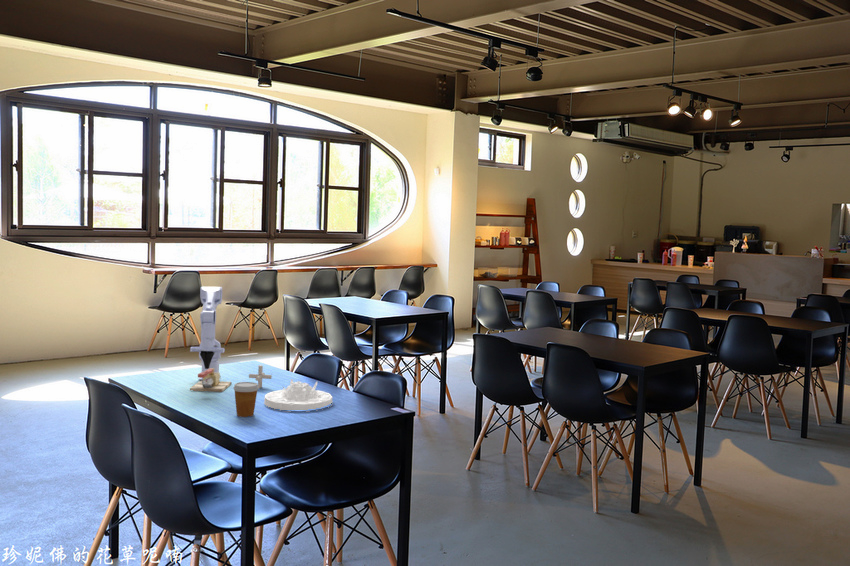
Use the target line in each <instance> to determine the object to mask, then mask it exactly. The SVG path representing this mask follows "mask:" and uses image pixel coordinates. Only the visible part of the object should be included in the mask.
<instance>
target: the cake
mask: <svg viewBox="0 0 850 566" xmlns="http://www.w3.org/2000/svg"><path fill="white" fill-rule="evenodd" d="M289 383H290V385H287V387H286V388H285V386H282V387H283V389H279V390H274V391H270V392H267V393H266V394H265V395H264V400H263V401H264V406H265V405H266V406H265V407H267V406H268V407H267V408H269V407H271V408H274V409H273V410H275V409H280V410H279V411H281V410H308V409H316V408H321V407H324V406H327V405H329V404H331V403H332V404H333V396H332V395H331V393H329V392H326V391H324V390H319V389H317V386H318V381H316V382H315V383H314V384H313V387H312V385H310V384H309V383H307V382H302V381H301V380H298V381H294V380H293V378H291V379H290V382H289ZM316 389H317V390H316ZM271 408H270V409H271Z"/></svg>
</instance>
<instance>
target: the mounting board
mask: <svg viewBox="0 0 850 566" xmlns="http://www.w3.org/2000/svg"><path fill="white" fill-rule="evenodd" d="M202 382H203V380H199V381H198V382H197V383H195V384H194V385H192V386H191V387H189V391H190V390H193V391H192V392H213V393H217V392H218V393H222V392H224V391H225V390H226V389H227V388H229V387H230V386H231V385H232V381H220V382H219V384H218V385H217V386H216V387H214V386H212V388H203V386H202Z"/></svg>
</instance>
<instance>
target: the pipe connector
mask: <svg viewBox="0 0 850 566" xmlns="http://www.w3.org/2000/svg"><path fill="white" fill-rule="evenodd" d="M263 367H264V365H261V364H260V365H258V368H257V370H258V371H257V373H256V374H255V373H249V375H248V378H249V379H255V381H257V384H258V387H259V388H258V389H261V388H263V380H264V379H265V380H267V379H268V380H272V377H273V376H272V374H265V372H263Z"/></svg>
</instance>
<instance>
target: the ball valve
mask: <svg viewBox="0 0 850 566" xmlns="http://www.w3.org/2000/svg"><path fill="white" fill-rule="evenodd" d="M220 376H221V372H219V373H215V372H214V371H213V372H211V373H210V374H208V375H207V376H206V377H204V378H203V380H202V381H203V382H202V386H203V388H212V386H214V387H216V386H217V385H218V384H219V382H220V379H221V377H220Z"/></svg>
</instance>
